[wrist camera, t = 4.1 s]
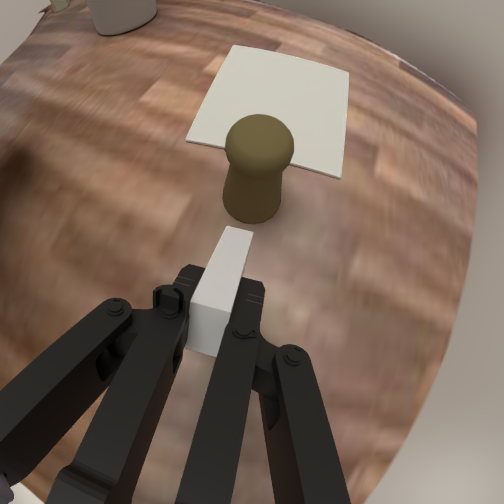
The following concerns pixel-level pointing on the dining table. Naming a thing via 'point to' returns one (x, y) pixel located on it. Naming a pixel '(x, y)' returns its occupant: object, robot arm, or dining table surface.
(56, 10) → the skincare box
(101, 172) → the dining table surface
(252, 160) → the cork
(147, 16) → the cylinder vase
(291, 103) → the felt mat
